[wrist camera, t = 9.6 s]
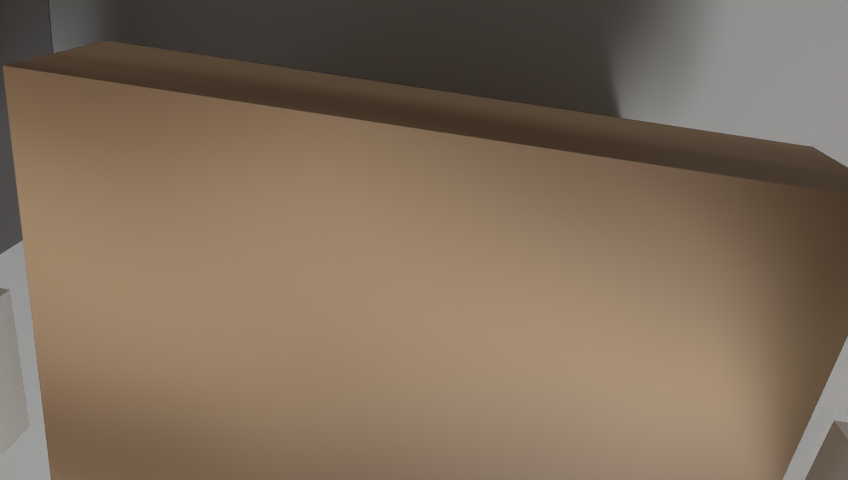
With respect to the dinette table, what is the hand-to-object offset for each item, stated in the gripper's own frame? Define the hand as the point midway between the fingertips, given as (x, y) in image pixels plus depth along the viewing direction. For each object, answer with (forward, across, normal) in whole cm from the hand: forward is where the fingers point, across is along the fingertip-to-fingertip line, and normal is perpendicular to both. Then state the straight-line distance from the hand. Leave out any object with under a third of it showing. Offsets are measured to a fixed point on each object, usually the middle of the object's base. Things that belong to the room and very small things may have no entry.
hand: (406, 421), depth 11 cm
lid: (+2, 0, 0) cm, 2 cm away
